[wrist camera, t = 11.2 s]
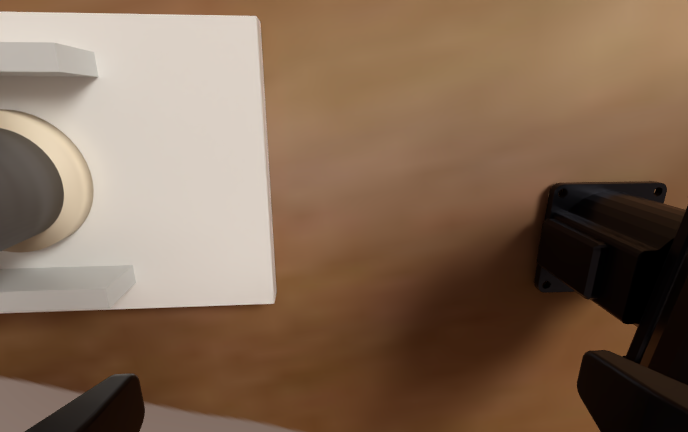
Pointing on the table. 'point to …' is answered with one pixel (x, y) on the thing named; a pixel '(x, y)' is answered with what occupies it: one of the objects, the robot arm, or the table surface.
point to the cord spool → (39, 183)
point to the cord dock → (147, 159)
